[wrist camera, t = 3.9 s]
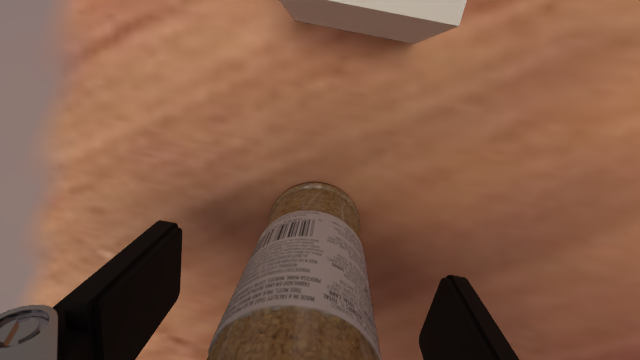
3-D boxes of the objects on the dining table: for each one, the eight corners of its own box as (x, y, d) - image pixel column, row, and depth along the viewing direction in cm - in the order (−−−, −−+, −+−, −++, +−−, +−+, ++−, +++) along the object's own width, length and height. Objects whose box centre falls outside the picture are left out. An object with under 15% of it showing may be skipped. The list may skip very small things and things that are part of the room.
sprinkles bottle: (280, 263, 16) (89, 920, 4) (262, 184, 15) (-157, 812, 2) (366, 254, 16) (484, 965, 3) (355, 172, 14) (497, 866, 2)
